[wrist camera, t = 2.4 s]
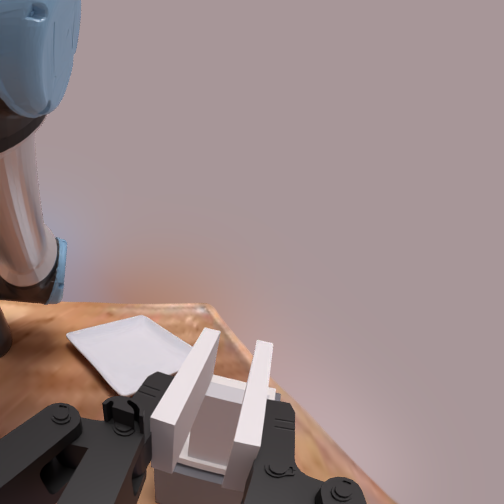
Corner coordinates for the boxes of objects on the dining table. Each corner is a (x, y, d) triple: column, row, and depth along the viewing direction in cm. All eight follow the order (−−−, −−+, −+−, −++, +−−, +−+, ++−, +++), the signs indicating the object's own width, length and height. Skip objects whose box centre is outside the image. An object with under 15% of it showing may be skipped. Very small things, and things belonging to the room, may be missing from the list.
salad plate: (208, 368, 59) (210, 354, 58) (123, 410, 41) (122, 395, 40) (142, 325, 69) (143, 312, 68) (65, 347, 51) (63, 333, 51)
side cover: (203, 377, 40) (213, 315, 38) (274, 394, 39) (292, 332, 37) (166, 458, 25) (170, 388, 22) (264, 482, 24) (292, 417, 22)
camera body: (196, 408, 45) (202, 365, 43) (267, 425, 45) (281, 383, 43) (155, 502, 26) (154, 463, 24) (254, 526, 25) (273, 492, 23)
